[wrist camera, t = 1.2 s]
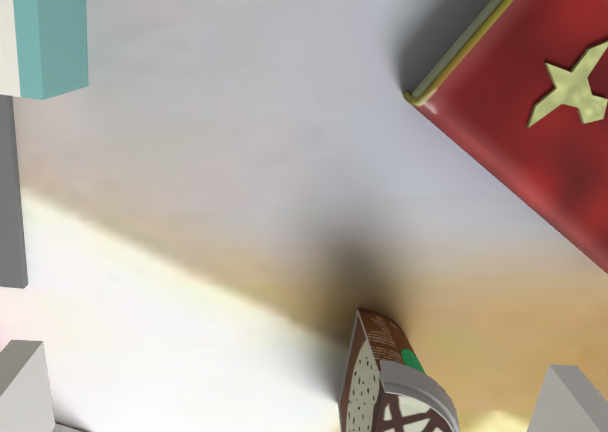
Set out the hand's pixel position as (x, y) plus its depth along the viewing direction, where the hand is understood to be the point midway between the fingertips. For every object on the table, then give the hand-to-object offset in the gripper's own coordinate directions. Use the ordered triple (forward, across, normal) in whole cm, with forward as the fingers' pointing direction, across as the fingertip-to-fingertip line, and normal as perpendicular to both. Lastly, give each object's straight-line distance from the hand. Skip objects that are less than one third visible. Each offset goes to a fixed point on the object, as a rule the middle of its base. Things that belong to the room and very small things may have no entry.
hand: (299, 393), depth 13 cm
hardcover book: (+22, +19, +4) cm, 29 cm away
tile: (+21, -14, +9) cm, 27 cm away
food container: (+21, +8, -15) cm, 27 cm away
